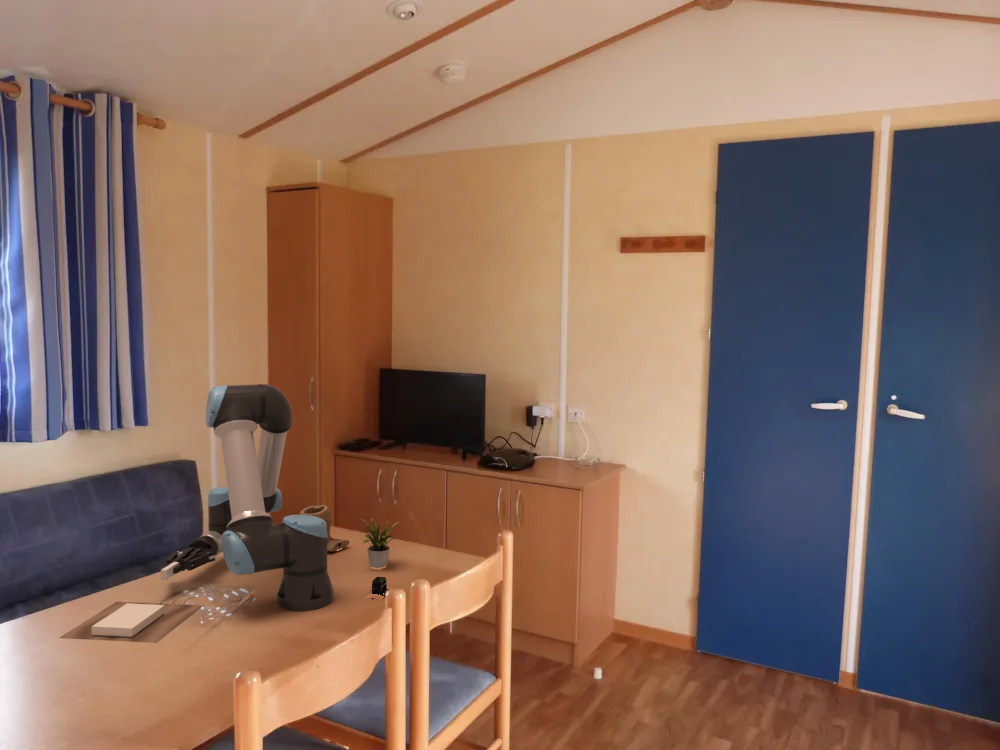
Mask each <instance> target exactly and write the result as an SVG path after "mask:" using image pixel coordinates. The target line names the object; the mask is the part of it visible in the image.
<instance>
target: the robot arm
mask: <svg viewBox="0 0 1000 750" xmlns="http://www.w3.org/2000/svg"><path fill="white" fill-rule="evenodd" d="M205 409H206V410H205V424H206V426H207V427H208V428H213V433H214V435H215V436H216V437H218V438H220V442H221V449H222V455H223V456H222V457H223V464H224V470H225V471H224V472H225V478H226V485H227V486H224V487H223V486H220V487H214V488H212V489H210V490H209V491H208V496H207V498H208V500H207V507H208V508H207V511H208V532H205V533H204V534H202V535H200V536H199V537H197V538H195V539H194V540H193V541H192V542H191V543H190V544H189V545H188V548H185V549H183V550H182V551H179V550H176V549H174V550H172V553H171V554H170V556H169V557H168V558H167V559H166V560H165V566H164V567H163V568H162V569H161V570H160V580H162V581H168V579H170V578H172V577H173V576H176V574H178V573H181V572H184V571H186V570H187V571H189V572H190V571H193V570H194V569H195V570H196V569H198V568H199V567H201V566H204V565H207V564H208V563H212V562H214V561H216V557H217V555H219V554H223V558H224V561H225V564H226V566H227V568H228V570H229V571H230V573H232V574H233V575H236V576H242V575H253V574H255V573H260V572H267V571H271V570H277V569H283V575H282V578H281V582H280V585H279V588H278V591H277V593H276V604H277V606H278V607H280V608H282V609H284V610H288V611H296V612H297V611H302V612H303V611H310V610H311V611H312V610H316V609H320V608H322V607H325V606H327V605H329V604H330V603H332V602H333V600H334V598H335V596H334V595H335V593H334V592H335V588H334V587H333V584H332V581H331V579H330V576H329V575H330V574H329V573H328V551H327V537H328V534H327V525H326V522H325V521H324V520H323V519H321V518H319V517H315V516H310V515H300V514H290V515H289V514H288V515H287V516H284V517H283V519H282V523H278V524H275V523H274V520H273V517H272V515H270V513H274V512H279V511H280V510H281V508H282V506H283V496H282V491H281V490H280V488H278V483H279V477H280V472H281V466H282V461H283V455H284V450H285V444H286V441H287V440H286V439H287V433H288V432H289V431H290V430H291V428H292V425H293V421H294V418H293V417H294V414H293V410H292V409H293V408H292V405H291V403H290V401H289V399H288V398H287V396H286V395H285V394H284V393H283V392H282V391H281V390H280V389H279V388H277V387H275V386H274V385H270V384H267V383H259V384H231V385H230V384H225V385H215V386H213V387H211V388H210V390H209V392H208V396H207V400H206V408H205ZM258 427H259V428H260V434H259V442H258V447H257V451H256V445H255V438H254V433H255V432H256V431H257V430H258Z"/></svg>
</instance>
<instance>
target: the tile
mask: <svg viewBox="0 0 1000 750" xmlns="http://www.w3.org/2000/svg"><path fill="white" fill-rule="evenodd" d="M164 613H165V605H151V604H129V603H127V604H126V605H124V606H123V607H121V608H119V609H118V610H116V611H115V612H113V613H112V614H110V615H109V616H107V617H105V618H104V619H102V620H101V621H99V622H98V623H96V624H95V625H93V626H92V627H91V628H92V635H94V636H114V637H133V636H134V635H135V634H137V633H138V632H139V631H141V630H142V629H144V628H145V627H146V626H148V625H149V624H150V623H152V622H153V621H155V620H156V619H157V618H159V617H160V616H161V615H163V614H164Z"/></svg>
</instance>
